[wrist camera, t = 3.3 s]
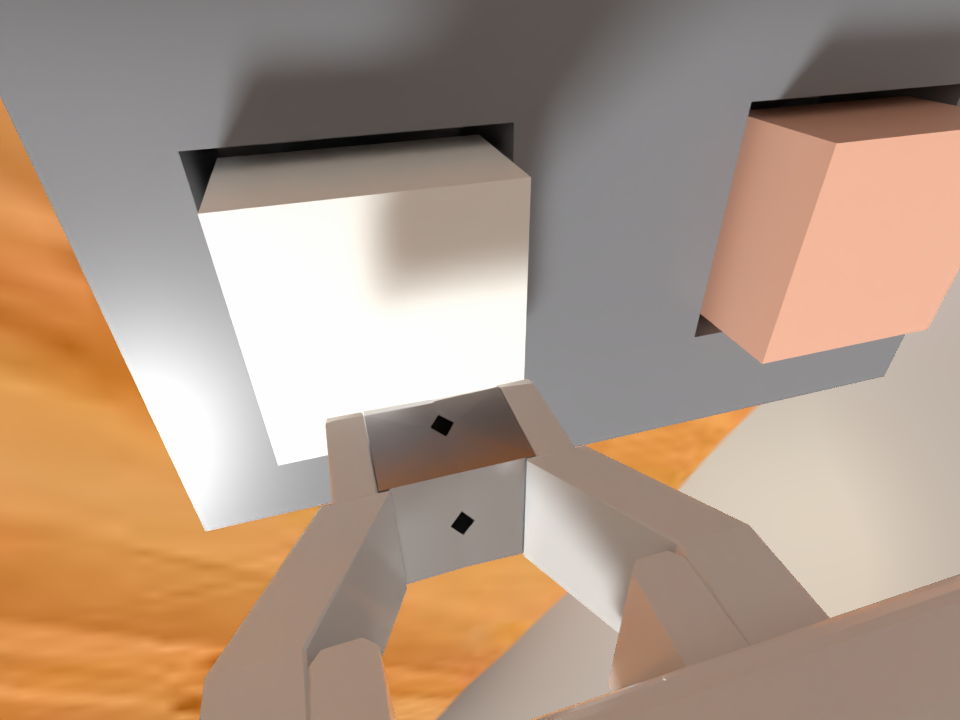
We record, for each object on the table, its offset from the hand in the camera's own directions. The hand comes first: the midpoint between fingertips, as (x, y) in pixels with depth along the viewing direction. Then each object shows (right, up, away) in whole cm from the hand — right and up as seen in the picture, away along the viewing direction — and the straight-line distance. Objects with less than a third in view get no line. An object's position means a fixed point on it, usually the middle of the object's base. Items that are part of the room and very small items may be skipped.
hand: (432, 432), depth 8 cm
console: (+2, +6, +8) cm, 11 cm away
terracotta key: (+9, +5, +6) cm, 12 cm away
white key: (-2, +3, +4) cm, 5 cm away
